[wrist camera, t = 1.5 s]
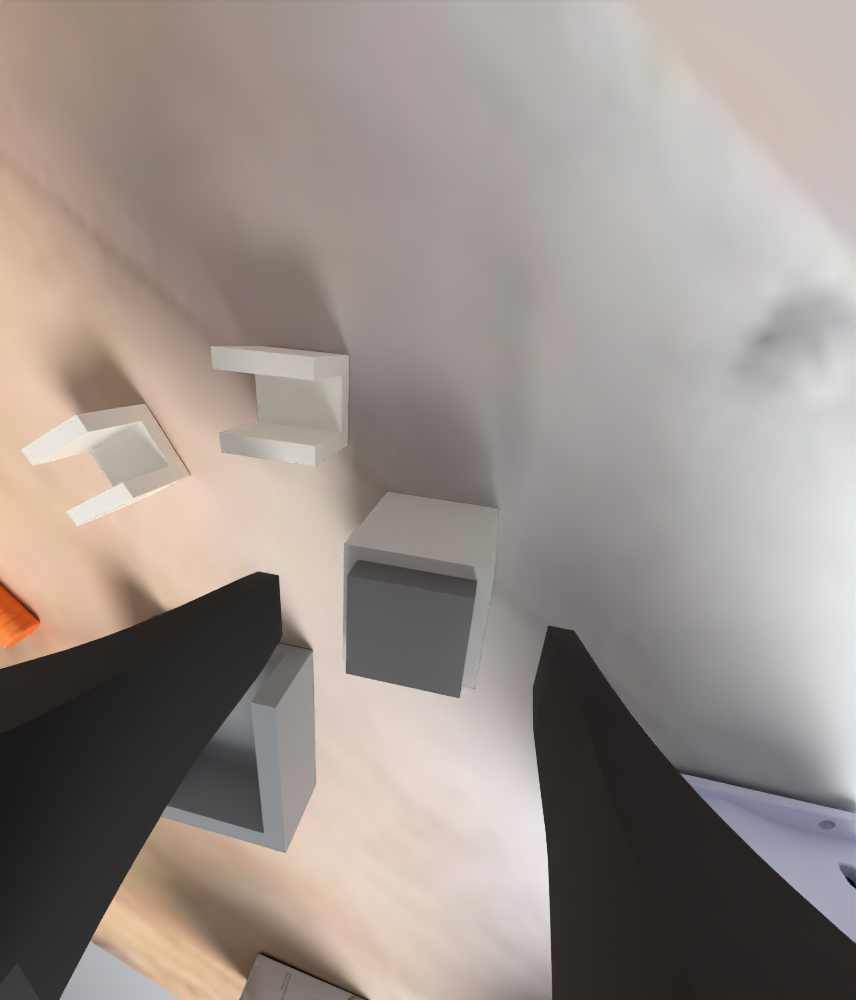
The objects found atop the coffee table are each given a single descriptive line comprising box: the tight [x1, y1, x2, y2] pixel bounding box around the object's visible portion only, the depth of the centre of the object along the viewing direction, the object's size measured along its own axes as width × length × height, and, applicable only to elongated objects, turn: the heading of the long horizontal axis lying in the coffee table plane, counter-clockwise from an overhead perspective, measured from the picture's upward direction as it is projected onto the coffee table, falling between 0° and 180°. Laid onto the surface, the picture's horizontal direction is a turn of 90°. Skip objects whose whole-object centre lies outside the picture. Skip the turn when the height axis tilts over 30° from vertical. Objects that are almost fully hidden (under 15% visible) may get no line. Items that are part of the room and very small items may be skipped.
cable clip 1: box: [21, 404, 190, 526], centre depth 15 cm, size 3×3×3 cm
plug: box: [343, 492, 499, 698], centre depth 13 cm, size 4×4×5 cm
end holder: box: [150, 616, 316, 853], centre depth 19 cm, size 8×9×3 cm
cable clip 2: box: [210, 346, 349, 466], centre depth 13 cm, size 3×3×3 cm
